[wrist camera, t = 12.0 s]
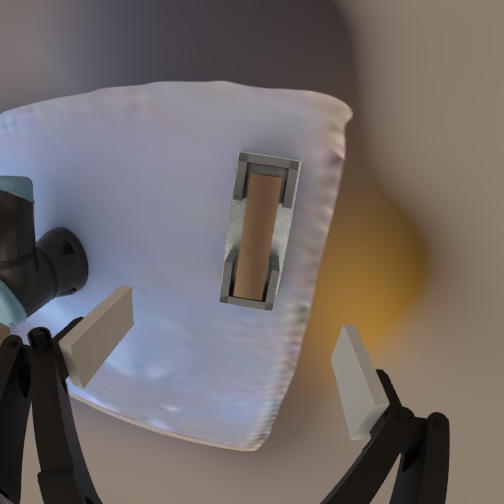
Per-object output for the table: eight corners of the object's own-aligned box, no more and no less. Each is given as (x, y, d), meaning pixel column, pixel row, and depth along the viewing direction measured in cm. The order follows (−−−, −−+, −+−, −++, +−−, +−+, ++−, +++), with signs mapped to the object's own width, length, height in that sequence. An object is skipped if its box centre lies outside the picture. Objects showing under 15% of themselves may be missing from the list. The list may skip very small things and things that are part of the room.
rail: (238, 279, 44) (233, 296, 38) (253, 172, 39) (250, 173, 33) (263, 283, 44) (261, 300, 38) (280, 177, 39) (282, 178, 33)
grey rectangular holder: (221, 283, 49) (212, 303, 41) (239, 151, 42) (232, 147, 34) (277, 292, 48) (277, 314, 41) (301, 161, 42) (307, 159, 34)
